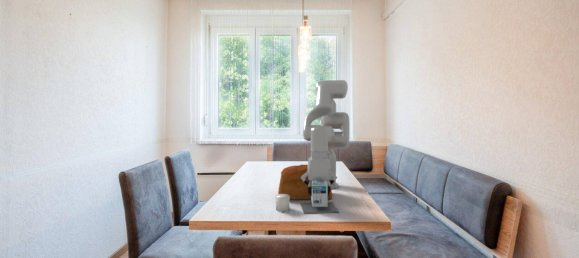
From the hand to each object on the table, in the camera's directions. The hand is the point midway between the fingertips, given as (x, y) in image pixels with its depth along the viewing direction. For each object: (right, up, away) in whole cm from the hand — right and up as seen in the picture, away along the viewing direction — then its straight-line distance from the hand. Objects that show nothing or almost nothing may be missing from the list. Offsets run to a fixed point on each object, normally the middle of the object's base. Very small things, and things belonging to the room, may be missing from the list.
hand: (318, 194), depth 121 cm
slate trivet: (0, -6, 0) cm, 6 cm away
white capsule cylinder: (-16, -6, -1) cm, 17 cm away
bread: (-5, -5, +18) cm, 19 cm away
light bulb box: (0, -4, 0) cm, 4 cm away
